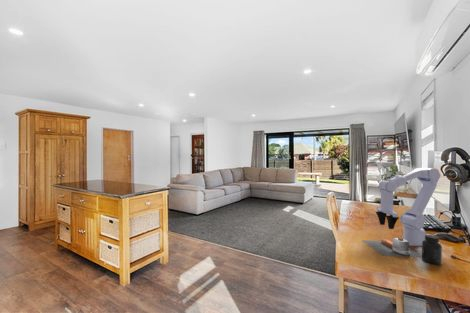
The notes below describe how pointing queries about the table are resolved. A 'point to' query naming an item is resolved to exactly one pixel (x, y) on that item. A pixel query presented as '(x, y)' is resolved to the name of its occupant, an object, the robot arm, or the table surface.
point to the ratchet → (390, 245)
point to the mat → (388, 249)
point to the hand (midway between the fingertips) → (386, 226)
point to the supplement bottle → (432, 250)
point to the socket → (400, 244)
